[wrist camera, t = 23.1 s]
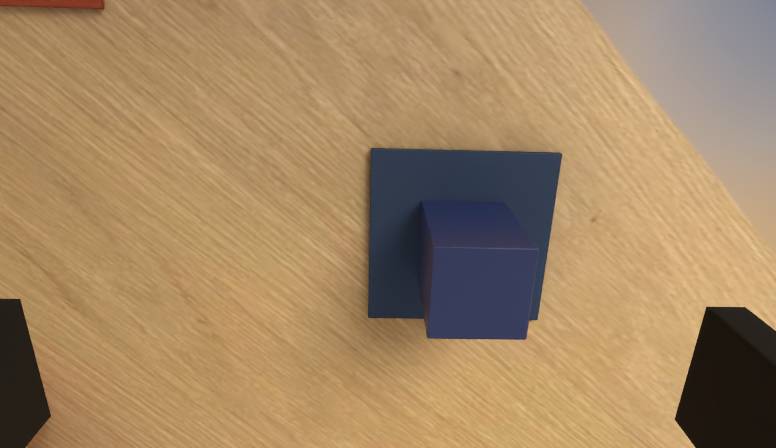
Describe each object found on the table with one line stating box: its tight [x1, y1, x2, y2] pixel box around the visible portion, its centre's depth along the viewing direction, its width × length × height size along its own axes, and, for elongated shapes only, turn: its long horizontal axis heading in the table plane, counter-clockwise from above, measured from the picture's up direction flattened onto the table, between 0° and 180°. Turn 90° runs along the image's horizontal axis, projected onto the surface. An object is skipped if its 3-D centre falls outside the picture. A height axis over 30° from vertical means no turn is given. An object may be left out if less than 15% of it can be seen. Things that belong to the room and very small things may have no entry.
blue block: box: [417, 201, 539, 340], centre depth 28 cm, size 5×5×7 cm
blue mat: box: [368, 148, 562, 320], centre depth 32 cm, size 11×11×1 cm
